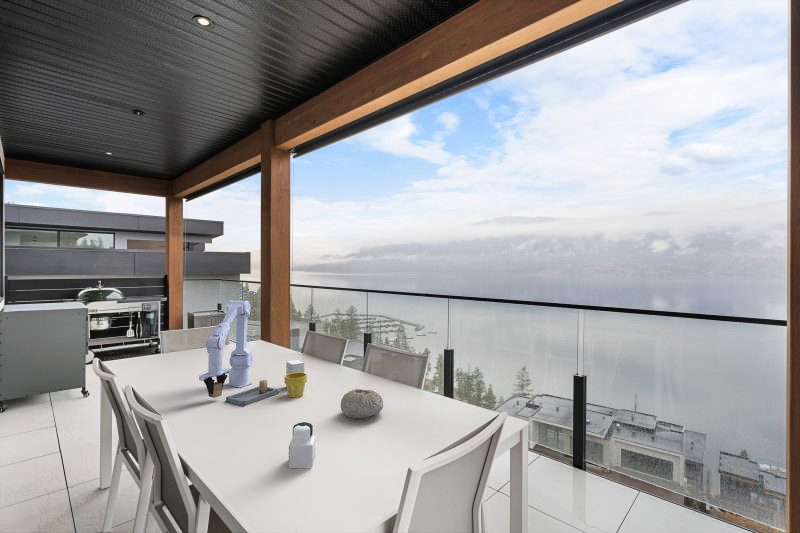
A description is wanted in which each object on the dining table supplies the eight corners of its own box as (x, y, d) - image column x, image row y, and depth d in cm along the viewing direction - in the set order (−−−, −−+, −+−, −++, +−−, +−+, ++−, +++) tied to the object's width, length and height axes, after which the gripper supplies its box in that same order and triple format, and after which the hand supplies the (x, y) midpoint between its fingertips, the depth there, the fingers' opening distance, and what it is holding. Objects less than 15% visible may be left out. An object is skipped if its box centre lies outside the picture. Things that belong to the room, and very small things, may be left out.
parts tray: (226, 401, 174) (226, 397, 174) (261, 389, 192) (261, 385, 192) (244, 406, 169) (244, 401, 169) (278, 393, 186) (278, 389, 186)
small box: (304, 388, 195) (304, 362, 195) (292, 390, 191) (292, 364, 191) (297, 384, 201) (297, 359, 201) (285, 386, 197) (286, 361, 197)
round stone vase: (365, 404, 173) (365, 382, 173) (392, 415, 160) (392, 391, 160) (332, 414, 160) (332, 390, 161) (358, 427, 148) (358, 401, 148)
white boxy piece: (292, 457, 124) (293, 420, 124) (315, 457, 125) (315, 419, 125) (288, 469, 117) (288, 429, 117) (312, 468, 117) (312, 429, 117)
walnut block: (208, 396, 174) (208, 384, 174) (216, 393, 178) (216, 381, 178) (214, 397, 172) (214, 385, 172) (221, 395, 176) (222, 383, 176)
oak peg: (257, 392, 185) (257, 381, 185) (263, 390, 188) (263, 379, 188) (263, 394, 183) (263, 382, 183) (268, 392, 186) (269, 380, 186)
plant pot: (280, 395, 183) (280, 375, 183) (298, 390, 191) (299, 370, 191) (291, 400, 176) (292, 379, 176) (311, 395, 184) (311, 375, 184)
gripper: (206, 367, 167) (206, 398, 167) (234, 360, 180) (234, 389, 180) (196, 365, 170) (195, 395, 170) (225, 358, 183) (224, 386, 183)
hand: (215, 392), depth 175 cm, fingers closed on walnut block, 4 cm apart
